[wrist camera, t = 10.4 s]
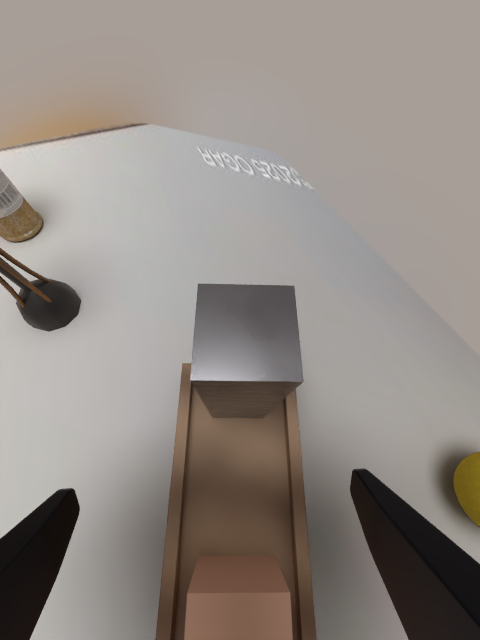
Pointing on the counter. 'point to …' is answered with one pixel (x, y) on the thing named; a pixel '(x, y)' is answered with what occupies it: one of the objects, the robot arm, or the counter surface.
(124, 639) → the counter surface
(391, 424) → the counter surface
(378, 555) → the robot arm
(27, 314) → the wooden tabletop sculpture
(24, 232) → the sprinkles bottle
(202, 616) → the terracotta block
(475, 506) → the lemon
